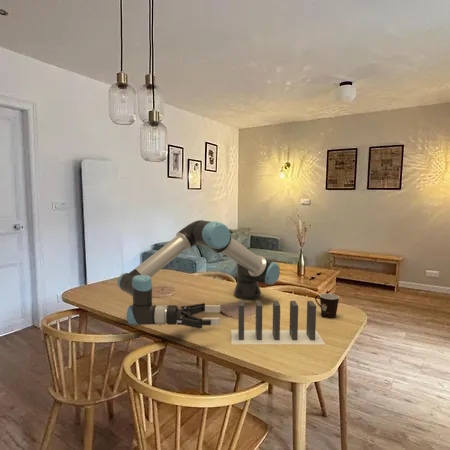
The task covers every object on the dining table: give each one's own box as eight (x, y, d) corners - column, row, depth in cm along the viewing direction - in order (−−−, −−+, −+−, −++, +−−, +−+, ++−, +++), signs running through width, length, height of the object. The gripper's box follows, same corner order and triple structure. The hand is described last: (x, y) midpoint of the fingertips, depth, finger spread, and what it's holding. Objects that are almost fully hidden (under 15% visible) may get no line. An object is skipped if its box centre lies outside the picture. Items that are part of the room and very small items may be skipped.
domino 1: (238, 340, 128) (239, 305, 127) (238, 333, 134) (238, 300, 133) (244, 340, 128) (244, 305, 127) (243, 333, 134) (243, 300, 133)
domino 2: (256, 340, 128) (257, 305, 127) (255, 333, 134) (255, 300, 133) (261, 340, 128) (262, 305, 127) (260, 333, 134) (260, 300, 133)
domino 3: (274, 340, 128) (275, 305, 127) (272, 333, 134) (273, 300, 133) (279, 340, 128) (280, 305, 127) (277, 333, 134) (277, 300, 133)
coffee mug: (341, 319, 150) (342, 298, 149) (324, 321, 149) (324, 299, 148) (329, 310, 162) (330, 291, 161) (313, 311, 160) (313, 292, 159)
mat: (231, 331, 138) (231, 329, 138) (316, 331, 138) (316, 330, 138) (231, 345, 125) (231, 344, 125) (325, 345, 125) (325, 344, 125)
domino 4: (292, 340, 128) (293, 305, 127) (289, 333, 134) (290, 300, 133) (297, 340, 128) (298, 305, 127) (294, 333, 134) (295, 300, 133)
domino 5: (310, 340, 128) (311, 305, 127) (306, 333, 134) (307, 300, 133) (315, 340, 128) (316, 305, 127) (311, 333, 134) (312, 300, 133)
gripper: (172, 312, 143) (220, 312, 143) (161, 337, 118) (219, 337, 118) (172, 295, 142) (220, 295, 142) (160, 317, 118) (219, 317, 118)
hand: (220, 314), depth 130 cm, fingers open, 13 cm apart
